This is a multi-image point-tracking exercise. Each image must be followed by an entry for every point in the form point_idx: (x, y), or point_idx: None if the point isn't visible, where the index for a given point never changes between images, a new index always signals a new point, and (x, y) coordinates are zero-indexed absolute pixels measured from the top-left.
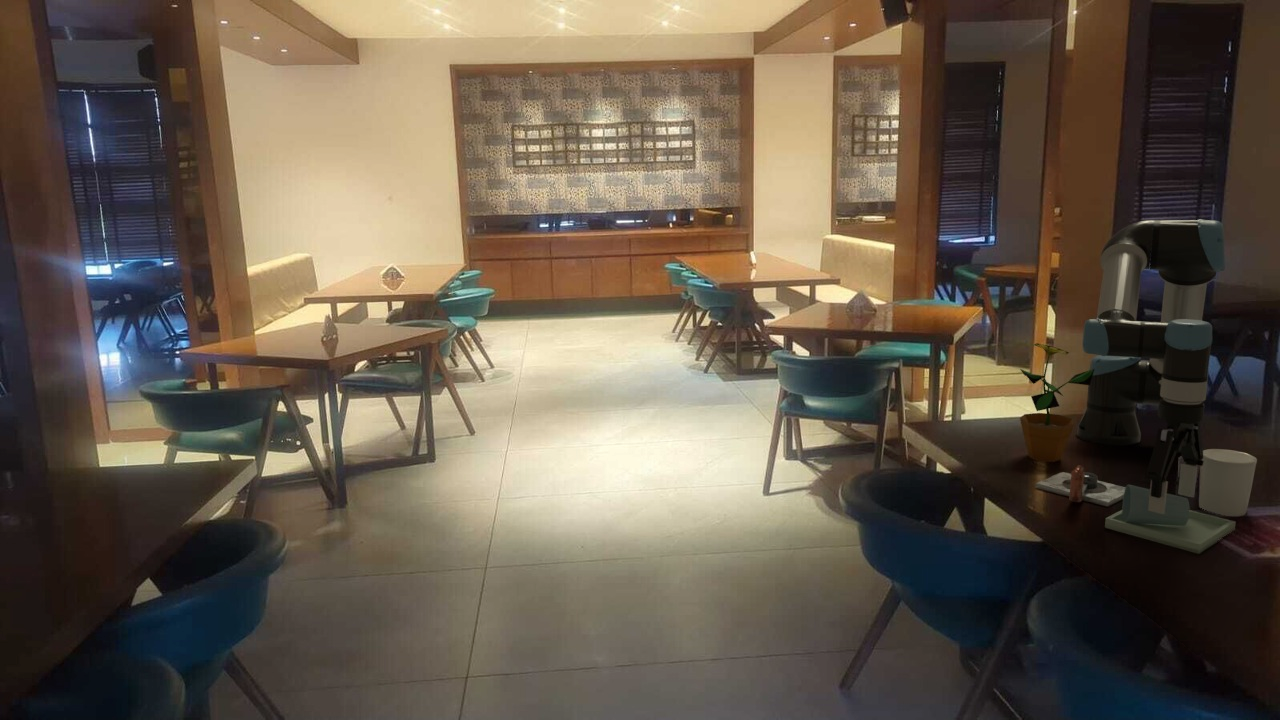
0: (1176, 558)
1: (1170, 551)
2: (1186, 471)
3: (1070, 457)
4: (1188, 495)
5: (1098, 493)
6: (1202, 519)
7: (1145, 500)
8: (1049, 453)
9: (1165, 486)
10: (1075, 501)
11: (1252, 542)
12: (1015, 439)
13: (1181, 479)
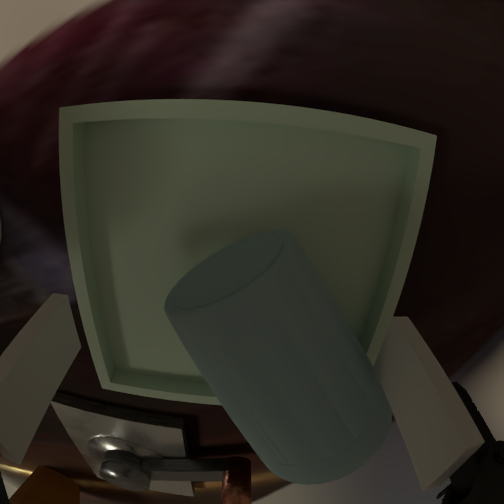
0: (466, 183)
1: (428, 210)
2: (21, 417)
3: (24, 456)
4: (69, 314)
5: (143, 445)
6: (86, 215)
7: (369, 406)
8: (64, 488)
9: (471, 422)
10: (249, 461)
11: (139, 27)
12: None
13: (49, 392)
